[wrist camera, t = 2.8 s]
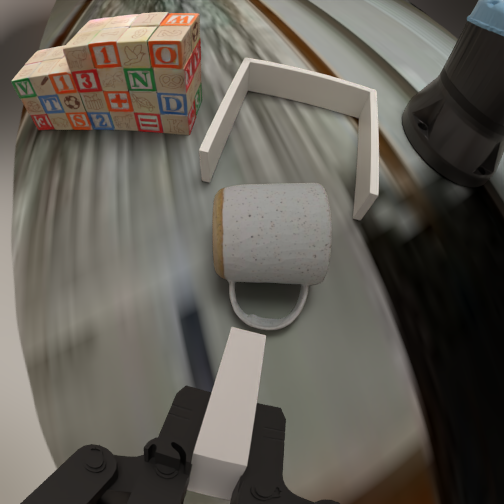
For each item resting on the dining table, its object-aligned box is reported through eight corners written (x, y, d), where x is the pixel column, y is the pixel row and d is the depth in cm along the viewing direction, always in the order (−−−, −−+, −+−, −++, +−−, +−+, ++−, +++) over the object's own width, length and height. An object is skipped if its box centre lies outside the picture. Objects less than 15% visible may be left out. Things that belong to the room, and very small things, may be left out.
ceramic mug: (216, 213, 29) (213, 161, 22) (305, 214, 30) (327, 164, 22) (216, 333, 25) (210, 314, 18) (317, 329, 26) (349, 310, 18)
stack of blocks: (37, 132, 32) (0, 62, 21) (58, 99, 35) (30, 31, 24) (191, 136, 33) (181, 39, 21) (204, 100, 35) (200, 11, 24)
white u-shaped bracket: (360, 220, 30) (378, 195, 26) (202, 180, 30) (198, 150, 26) (364, 116, 36) (376, 90, 32) (243, 85, 36) (245, 57, 32)
